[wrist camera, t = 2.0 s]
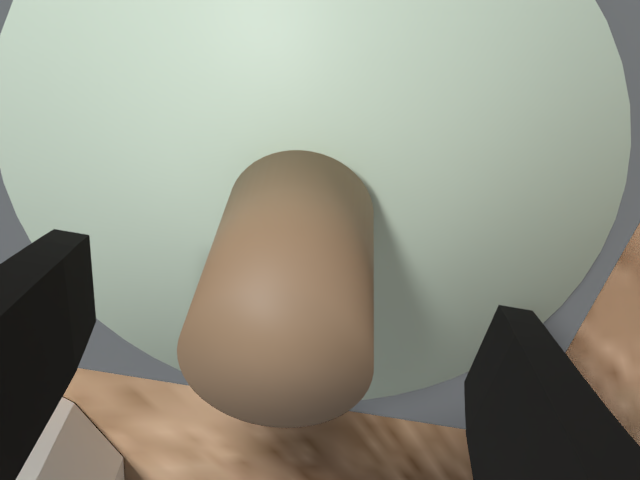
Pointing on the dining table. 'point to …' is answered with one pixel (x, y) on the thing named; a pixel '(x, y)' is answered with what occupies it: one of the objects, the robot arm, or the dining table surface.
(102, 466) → the bowl
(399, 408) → the mat
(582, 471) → the robot arm
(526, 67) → the lid
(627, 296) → the dining table surface
